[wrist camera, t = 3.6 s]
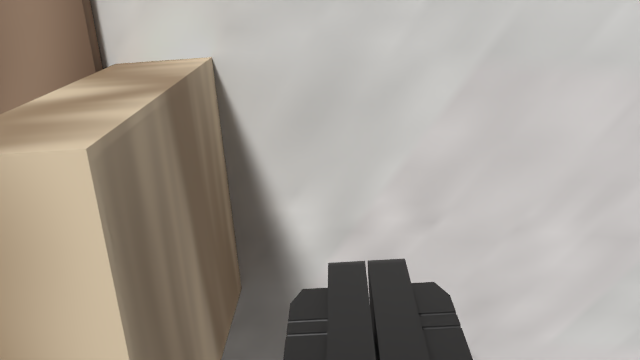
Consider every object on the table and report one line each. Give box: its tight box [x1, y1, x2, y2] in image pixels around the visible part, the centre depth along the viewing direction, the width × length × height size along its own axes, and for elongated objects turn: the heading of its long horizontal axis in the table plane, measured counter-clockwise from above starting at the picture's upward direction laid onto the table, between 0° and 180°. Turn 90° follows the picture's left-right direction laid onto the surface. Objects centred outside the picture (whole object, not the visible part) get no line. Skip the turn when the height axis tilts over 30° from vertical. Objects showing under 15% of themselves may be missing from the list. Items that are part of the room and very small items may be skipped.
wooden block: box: [0, 57, 242, 360], centre depth 15 cm, size 3×8×10 cm, turn 4°
